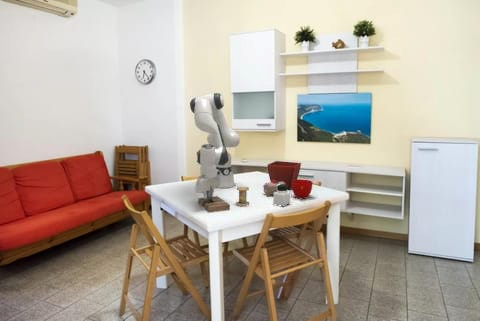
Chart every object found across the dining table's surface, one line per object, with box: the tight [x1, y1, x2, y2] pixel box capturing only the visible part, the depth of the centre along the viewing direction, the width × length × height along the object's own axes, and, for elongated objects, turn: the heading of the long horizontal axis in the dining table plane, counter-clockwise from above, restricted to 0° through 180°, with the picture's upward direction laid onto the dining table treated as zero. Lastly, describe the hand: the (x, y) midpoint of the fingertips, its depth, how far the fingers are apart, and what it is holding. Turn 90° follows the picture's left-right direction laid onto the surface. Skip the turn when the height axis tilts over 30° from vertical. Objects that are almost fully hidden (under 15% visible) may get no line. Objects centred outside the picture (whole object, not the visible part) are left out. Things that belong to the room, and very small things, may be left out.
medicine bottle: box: [272, 184, 291, 207], centre depth 214 cm, size 7×7×12 cm
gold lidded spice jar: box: [205, 185, 213, 204], centre depth 208 cm, size 4×4×11 cm
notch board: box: [197, 195, 231, 213], centre depth 210 cm, size 20×12×3 cm, turn 24°
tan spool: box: [235, 185, 250, 207], centre depth 214 cm, size 8×8×10 cm
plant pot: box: [267, 160, 302, 191], centre depth 258 cm, size 19×19×17 cm
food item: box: [262, 180, 285, 197], centre depth 236 cm, size 14×8×10 cm, turn 103°
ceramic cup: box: [291, 179, 313, 199], centre depth 229 cm, size 13×17×10 cm
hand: (208, 197), depth 209 cm, fingers closed on gold lidded spice jar, 4 cm apart
